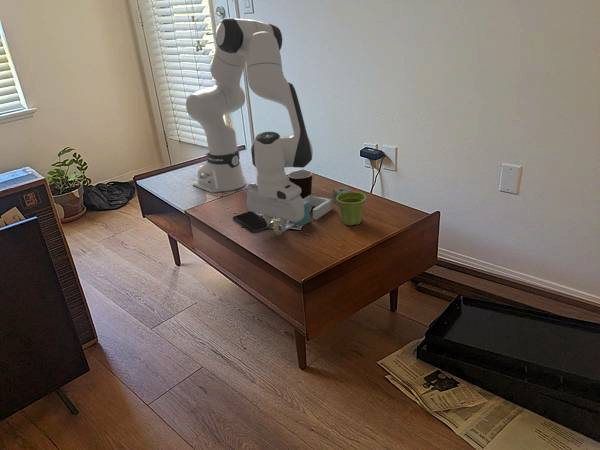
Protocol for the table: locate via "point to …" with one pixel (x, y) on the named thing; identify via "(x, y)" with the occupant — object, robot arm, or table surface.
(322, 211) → the rail lane
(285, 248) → the table surface
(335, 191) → the grey cube with symbols
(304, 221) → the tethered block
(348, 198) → the plant pot
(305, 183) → the coffee mug
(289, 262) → the table surface
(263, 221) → the phone
